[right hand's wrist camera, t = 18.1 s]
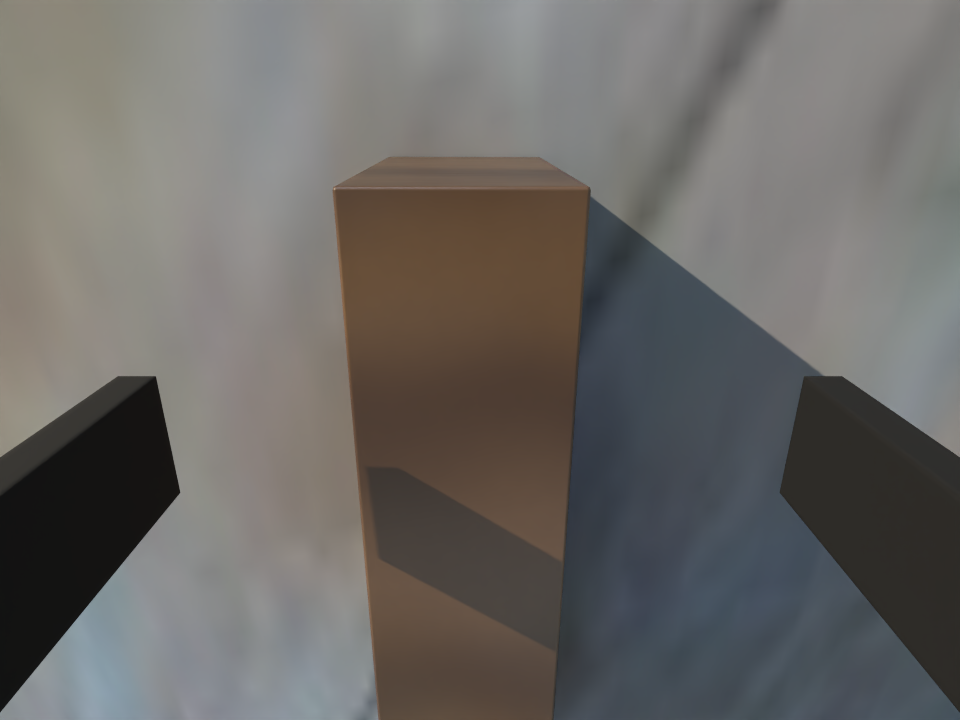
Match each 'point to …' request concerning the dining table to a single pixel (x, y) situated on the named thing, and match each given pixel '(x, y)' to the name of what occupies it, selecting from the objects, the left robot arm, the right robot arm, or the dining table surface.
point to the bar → (463, 423)
